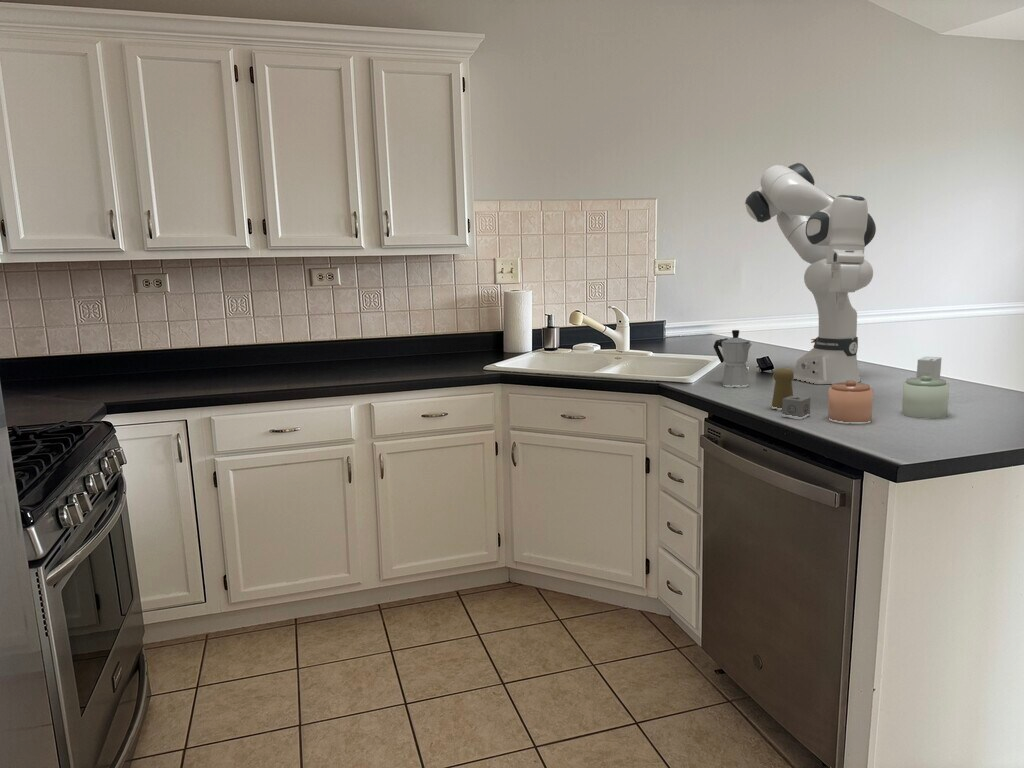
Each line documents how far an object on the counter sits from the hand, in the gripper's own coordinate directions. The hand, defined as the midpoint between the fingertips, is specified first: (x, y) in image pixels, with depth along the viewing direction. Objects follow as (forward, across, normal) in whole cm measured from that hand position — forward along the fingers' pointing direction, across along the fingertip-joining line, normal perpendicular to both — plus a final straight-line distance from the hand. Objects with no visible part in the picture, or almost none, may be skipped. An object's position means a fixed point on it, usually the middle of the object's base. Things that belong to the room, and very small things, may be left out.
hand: (839, 309), depth 193 cm
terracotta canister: (+27, +15, +2) cm, 31 cm away
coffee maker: (+26, -33, -24) cm, 48 cm away
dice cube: (+28, +13, -10) cm, 32 cm away
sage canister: (+25, +9, +21) cm, 34 cm away
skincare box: (+24, -7, +25) cm, 36 cm away
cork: (+28, +3, -12) cm, 30 cm away
